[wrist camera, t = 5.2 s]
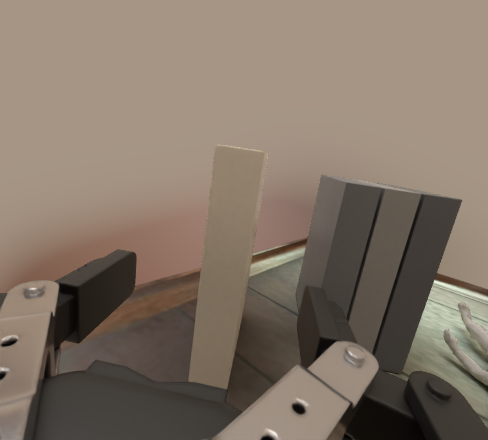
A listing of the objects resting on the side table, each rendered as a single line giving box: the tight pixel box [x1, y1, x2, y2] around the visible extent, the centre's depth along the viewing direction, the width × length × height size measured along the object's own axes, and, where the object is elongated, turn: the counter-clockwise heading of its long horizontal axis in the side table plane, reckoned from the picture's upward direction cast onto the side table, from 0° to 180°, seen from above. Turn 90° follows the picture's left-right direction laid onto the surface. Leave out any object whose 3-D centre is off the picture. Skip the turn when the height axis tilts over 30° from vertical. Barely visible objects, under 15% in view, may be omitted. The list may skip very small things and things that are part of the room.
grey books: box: [296, 175, 462, 374], centre depth 22 cm, size 7×9×13 cm
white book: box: [188, 144, 268, 389], centre depth 18 cm, size 2×8×14 cm, turn 173°
